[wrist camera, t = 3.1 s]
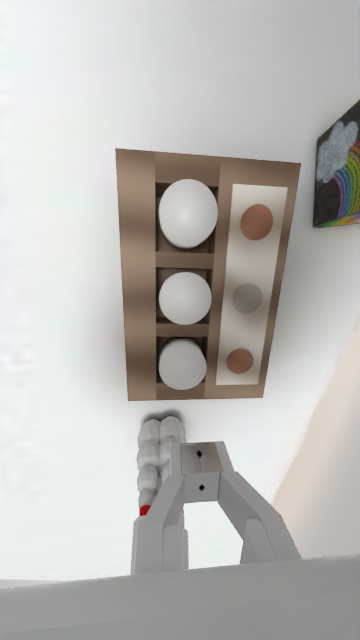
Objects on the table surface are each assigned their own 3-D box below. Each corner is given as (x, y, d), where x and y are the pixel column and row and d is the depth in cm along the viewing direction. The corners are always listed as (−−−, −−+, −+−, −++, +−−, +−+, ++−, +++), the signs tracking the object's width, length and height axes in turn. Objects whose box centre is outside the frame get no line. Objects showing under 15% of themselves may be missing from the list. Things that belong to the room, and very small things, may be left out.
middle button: (160, 271, 18) (158, 271, 15) (206, 273, 19) (213, 272, 16) (160, 317, 19) (159, 324, 17) (203, 317, 20) (209, 325, 17)
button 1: (160, 336, 20) (159, 346, 17) (202, 336, 20) (208, 346, 17) (160, 374, 21) (159, 390, 18) (200, 374, 22) (205, 389, 19)
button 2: (160, 194, 17) (158, 176, 14) (210, 197, 17) (220, 181, 14) (160, 249, 18) (158, 243, 15) (207, 250, 18) (215, 246, 15)
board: (126, 175, 18) (114, 145, 14) (274, 185, 20) (303, 160, 15) (134, 380, 24) (127, 402, 20) (248, 379, 25) (264, 399, 21)
